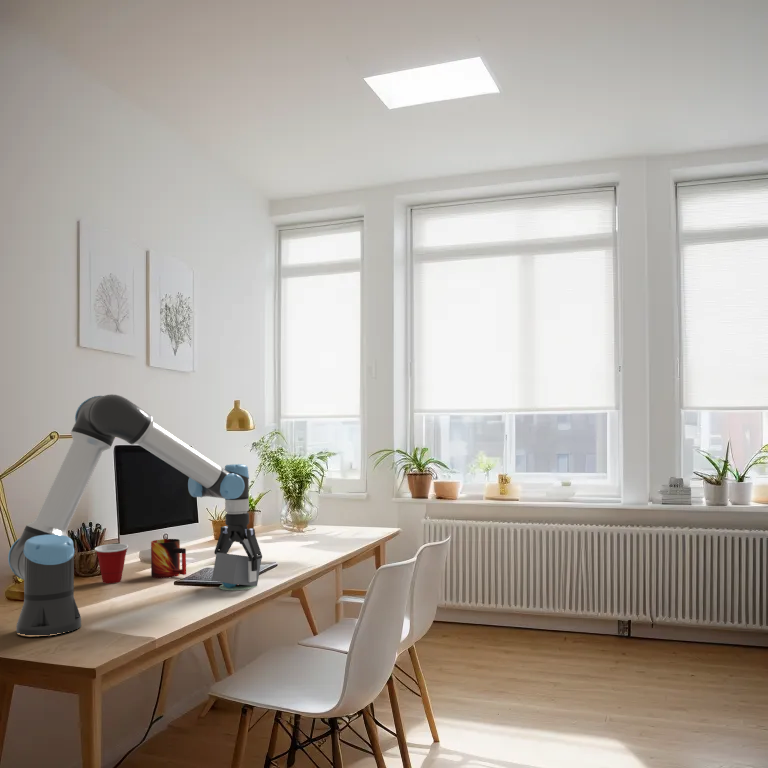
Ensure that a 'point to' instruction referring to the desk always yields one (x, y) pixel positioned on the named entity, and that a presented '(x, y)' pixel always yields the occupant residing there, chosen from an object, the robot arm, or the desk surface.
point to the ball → (229, 585)
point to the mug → (167, 558)
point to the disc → (237, 587)
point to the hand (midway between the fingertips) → (238, 579)
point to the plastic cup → (111, 561)
